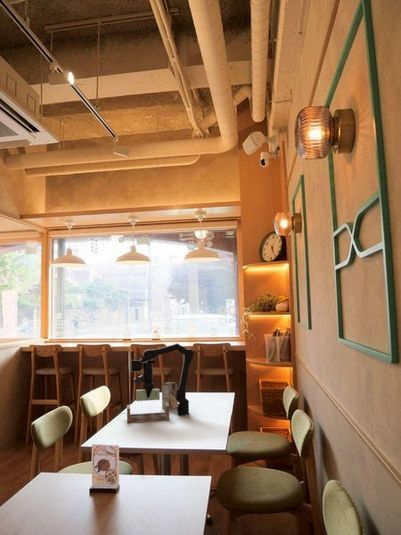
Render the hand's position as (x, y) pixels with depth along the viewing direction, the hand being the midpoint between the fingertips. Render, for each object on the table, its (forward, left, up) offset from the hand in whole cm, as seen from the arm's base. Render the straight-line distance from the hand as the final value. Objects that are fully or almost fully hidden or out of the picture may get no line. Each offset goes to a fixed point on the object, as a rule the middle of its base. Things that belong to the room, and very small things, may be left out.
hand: (148, 397), depth 255 cm
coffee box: (-15, -21, -12) cm, 28 cm away
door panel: (0, 0, -2) cm, 2 cm away
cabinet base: (+1, +6, -12) cm, 13 cm away
